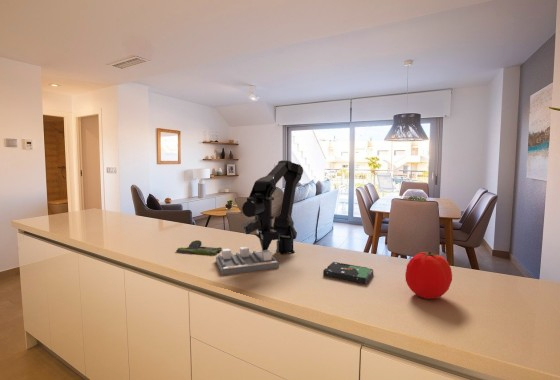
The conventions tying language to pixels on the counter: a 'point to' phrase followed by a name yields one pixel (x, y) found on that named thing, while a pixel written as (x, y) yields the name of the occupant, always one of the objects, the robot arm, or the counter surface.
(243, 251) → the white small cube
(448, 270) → the tomato
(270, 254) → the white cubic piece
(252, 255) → the switch bank
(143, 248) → the counter surface
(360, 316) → the counter surface
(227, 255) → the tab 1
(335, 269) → the disk drive
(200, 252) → the gun
